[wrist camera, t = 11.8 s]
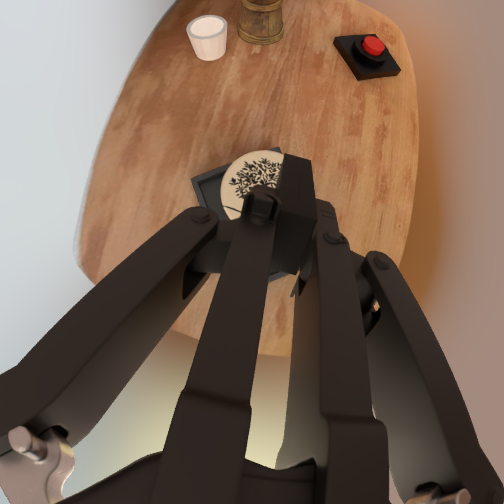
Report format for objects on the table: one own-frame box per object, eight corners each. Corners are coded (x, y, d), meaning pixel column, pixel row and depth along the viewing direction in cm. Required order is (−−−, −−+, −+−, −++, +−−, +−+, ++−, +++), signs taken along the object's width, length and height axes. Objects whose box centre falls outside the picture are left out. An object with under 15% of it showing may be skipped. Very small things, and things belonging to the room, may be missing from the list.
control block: (396, 75, 44) (405, 65, 40) (357, 80, 43) (365, 69, 39) (371, 40, 44) (378, 29, 40) (332, 43, 44) (337, 31, 40)
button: (385, 55, 40) (388, 50, 38) (369, 56, 40) (372, 51, 38) (374, 40, 40) (377, 35, 38) (358, 41, 40) (360, 36, 38)
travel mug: (246, 183, 42) (246, 132, 24) (294, 209, 42) (326, 175, 24) (219, 230, 42) (200, 209, 24) (268, 257, 42) (284, 255, 24)
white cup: (187, 62, 43) (180, 38, 36) (198, 37, 43) (193, 13, 36) (224, 65, 43) (221, 40, 36) (233, 40, 43) (231, 15, 36)
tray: (321, 259, 42) (325, 259, 40) (235, 293, 42) (234, 295, 40) (277, 152, 43) (278, 146, 40) (193, 182, 42) (190, 178, 40)
